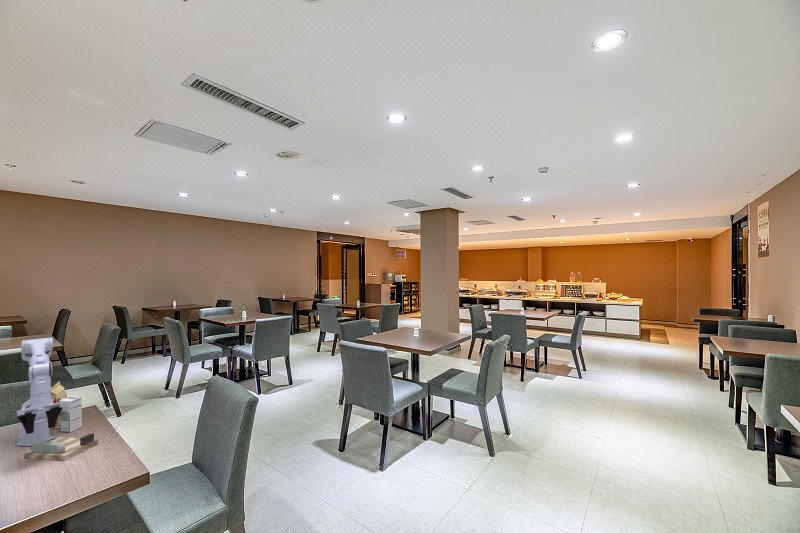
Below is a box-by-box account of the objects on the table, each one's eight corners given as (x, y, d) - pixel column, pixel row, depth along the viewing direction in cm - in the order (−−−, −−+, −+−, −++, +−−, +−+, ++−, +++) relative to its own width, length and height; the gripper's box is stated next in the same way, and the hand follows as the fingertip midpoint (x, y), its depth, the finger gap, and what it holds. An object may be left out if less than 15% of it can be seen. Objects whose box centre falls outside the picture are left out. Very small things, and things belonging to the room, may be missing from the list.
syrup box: (82, 427, 168) (82, 396, 168) (69, 432, 162) (69, 400, 162) (71, 426, 168) (71, 395, 168) (58, 432, 162) (58, 400, 162)
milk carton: (52, 422, 173) (53, 380, 174) (73, 421, 174) (73, 380, 175) (35, 430, 164) (35, 386, 165) (56, 429, 165) (57, 386, 165)
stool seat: (23, 458, 140) (23, 445, 140) (60, 441, 153) (60, 430, 153) (64, 460, 138) (64, 447, 138) (98, 443, 151) (98, 432, 151)
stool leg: (66, 450, 141) (66, 441, 141) (60, 453, 139) (60, 444, 139) (38, 448, 143) (38, 440, 143) (31, 451, 140) (31, 443, 140)
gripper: (28, 396, 133) (28, 434, 130) (68, 389, 147) (69, 423, 145) (12, 399, 134) (11, 437, 131) (53, 392, 148) (54, 426, 145)
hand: (41, 430), depth 138 cm, fingers open, 7 cm apart
